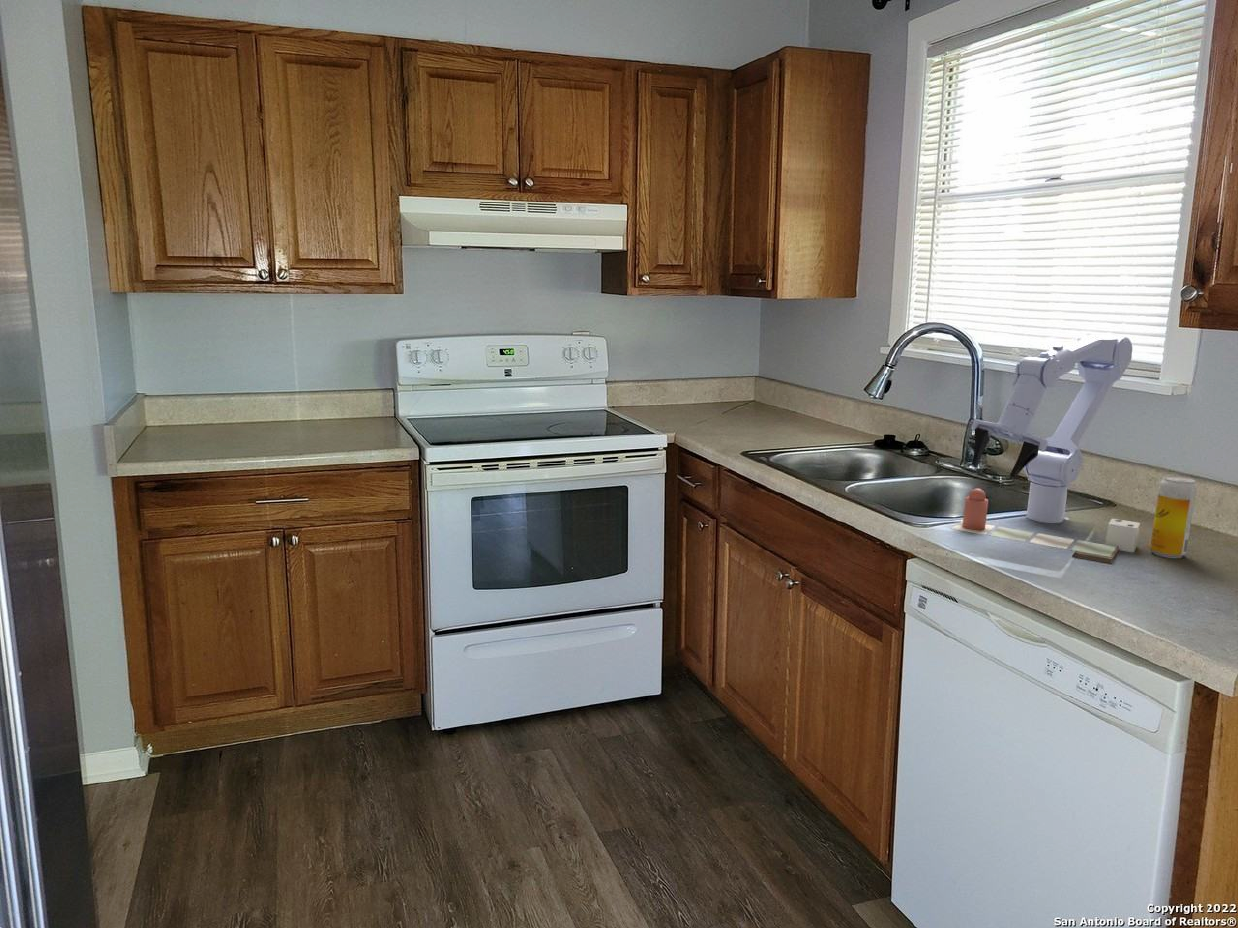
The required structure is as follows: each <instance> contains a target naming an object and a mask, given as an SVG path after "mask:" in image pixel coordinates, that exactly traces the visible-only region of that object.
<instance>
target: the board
mask: <svg viewBox="0 0 1238 928" xmlns="http://www.w3.org/2000/svg"><path fill="white" fill-rule="evenodd" d="M962 525H963V519H962V520H961V521H959V522H958V523H957V524H955V525H954V526H953V527H951V528H950V529H951V530H955V531H961V532H967V533H972V534H973V533H974V534H978V535H982V536H983V535H988V534H989V533H990V532H991V531H992V530H993V529H995V528H996V527H997V526H996V525H993V524H992V525H991V524H987V523H986V525H985V529H984V530H971V529H966V528H964V527H963V526H962ZM1034 534H1035V532H1033V531H1029V530H1028V531H1027V530H1021V529H1015V528H1009V527H1004V526H998V527H997V528H996V529H995V530H994V531H992V532H991V534H989V535H988V536H989V537H995V538H1001V539H1007V540H1011V541H1012V540H1013V541H1018V542H1024V543H1026V542H1027V541H1028V540H1029V538H1031V537H1032V536H1033V535H1034ZM1074 541H1075V539H1072V538H1067V537H1062V536H1056V535H1051V534H1045V533H1039V532H1038V533H1037V534H1036V535H1035V536H1034V537H1033V538H1032V539H1031V540H1030V541H1029V542H1028V543H1029V544H1034V545H1040V546H1046V547H1052V548H1056V549H1057V548H1058V549H1062V550H1063V549H1064V550H1067V549H1068V548H1069V547H1070V546H1071V545H1072V543H1074ZM1070 551H1074V553H1073V554H1072V555H1071V557H1074V558H1080V559H1085V560H1091V561H1095V562H1096V561H1097V562H1101V563H1107V564H1112V562H1113V561H1114V559H1115V558H1116V556H1117V554H1118V553H1119V551H1120V550H1119V547H1116V546H1110V545H1105V544H1104V543H1097V542H1091V541H1086V540H1080V539H1078V540H1077V541H1076V542H1075V544H1074V545H1073V546H1072V548H1071V549H1070Z"/></svg>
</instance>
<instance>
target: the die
mask: <svg viewBox="0 0 1238 928" xmlns="http://www.w3.org/2000/svg"><path fill="white" fill-rule="evenodd" d="M1140 525H1141V522H1136V521H1129V520H1124V519H1118V518H1111V519H1110V520H1109V522H1108V524H1107V530H1106V538H1105V544H1104V545H1110V546H1116V547H1119V550H1118V551H1123V552H1128V553H1134V552H1135V551H1136V549H1137V546H1138V540H1139V539H1138V538H1139V534H1140Z"/></svg>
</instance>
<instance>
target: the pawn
mask: <svg viewBox="0 0 1238 928" xmlns="http://www.w3.org/2000/svg"><path fill="white" fill-rule="evenodd" d="M986 497H987V496H986V492H985V491H984V490H983V489H982V488H973V489H972V490H970V492H969V494H968V496H966V497H965V500H964V508H963V516H962V517H963V518H962V520H963V525H962V526H963V527H964V528H966V529H971V530H984V529H985V525H986V524H987V515H988V506H989V499H987V498H986Z"/></svg>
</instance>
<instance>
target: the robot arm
mask: <svg viewBox="0 0 1238 928" xmlns="http://www.w3.org/2000/svg"><path fill="white" fill-rule="evenodd" d="M1132 355H1133V345H1132V341H1131V340H1130V338H1128V337H1126V336H1125V337H1123V336H1122V337H1119V336H1118V337H1116V336H1102V335H1092V334H1083V335H1081V336H1079V337H1078V339H1077V340H1076V342H1075V343H1073V344H1071V345H1069V346H1068V347H1065V346H1063V345H1057V344H1056V345H1053V346H1052V348H1051V349H1050V350H1048V351H1042V352H1041V353H1040V354H1039V355H1038V356H1035V357H1034V356H1033V357H1032V356H1026V357H1024V358H1022V359H1021V360H1020V361H1019V362H1018V363H1016V366H1015V371H1014V379H1013V381H1012V391H1011V393H1010V395H1009V397H1008V399H1007V402H1006V404H1005V407H1004V408H1003V411H1002V413H1001V416H1000V418H999V419H998V422H992V421H991V422H990V421H985V420H980V419H977V418H974V419H973V422H972V424H971V426H970V427H971V431H973V432H974V450H973V457H972V460H971V466H972V468H977V467H978V465H979V464H980V463H979V462H980V460H981V457H982V454H984V453H983V452H984V450H985V449H986V447H987V446H988V444H989V442H990V441H991V438H990V436H993V437H996V438H999V439H1003V440H1006V441H1009V442H1013V443H1017V444H1020V445H1022V446H1021V449H1020V452H1019V454H1018V458H1017V459H1016V462H1015V464H1014V465H1013V467H1012V469H1011V471H1010V474H1009V478H1010V480H1012V481H1015V479H1016V478H1017V477H1018V475H1019V474H1020V473H1021V471H1022V470H1023V472H1024V473H1025V475H1026V476H1027V481H1029V482H1030V486H1029V492H1028V493H1029V494H1028V503H1027V510H1026V518H1028V520H1031V521H1035V522H1040V523H1047V524H1059V523H1063V522H1064V520H1065V521H1069V519H1070V518H1068V517H1065V510H1066V504H1067V503H1066V502H1067V495H1068V487H1069V486H1072V484H1073V483H1074V482H1075V481H1076V480H1077V479H1078V477H1079V474H1080V470H1081V466H1082V464H1083V462H1084V458H1083V457H1084V456H1083V453H1082V452H1081V450H1080V448H1078V445H1079V444H1080V442H1081V441H1082V439H1083V437H1084V435H1085V434H1086V432H1087V430H1088V429H1089V427H1090V426H1091V423H1092V422H1093V420H1094V419H1095V416H1097V413H1098V411H1099V410H1100V408H1101V406H1102V404H1103V403H1104V401H1105V400H1106V398H1107V396H1108V395H1109V393H1110V391H1111V389H1112V388H1113V385H1114V384H1115V383H1116V382H1118V381H1120V379H1121V378H1122V376H1123V375H1124V373H1125V371H1126V370H1127V369H1128V366H1129V365H1130V363H1131V361H1132ZM1076 365H1077V369H1078V375H1079V376H1080V377H1081V378H1083V380H1085V381H1084V383H1083V385H1082V386H1081V388H1080V389H1079V391H1078V393H1077V395H1076V396H1075V398H1074V400H1073V401H1072V403H1071V405H1070V407H1069V408H1068V410H1067V412H1066V413H1065V415H1064V416H1063V419H1062V420H1061V422H1060V423H1059V425H1058V426H1057V428H1056V430H1055V432H1054V434H1053V435H1052V436H1050V437H1047V438H1042V437H1039V436H1037V435H1033V434H1031V433H1028V431H1029V428H1030V425H1031V423H1032V421H1033V419H1034V417H1035V414H1036V412H1037V410H1038V408H1039V405H1040V403H1041V401H1042V399H1043V397H1044V395H1045V392H1046V390H1047V388H1053V387H1055V385H1056V383H1057V381H1058V379H1060V377H1062V376H1064V375H1066V374H1069V373H1070V372H1071V371H1072V370H1074V369H1075V366H1076Z"/></svg>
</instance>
